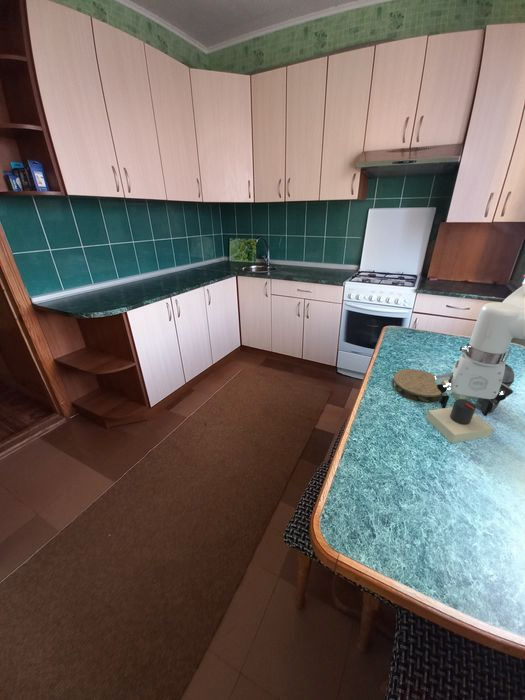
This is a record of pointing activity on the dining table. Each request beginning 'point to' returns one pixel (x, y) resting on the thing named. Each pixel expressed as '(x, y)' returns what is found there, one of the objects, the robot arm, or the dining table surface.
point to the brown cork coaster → (417, 385)
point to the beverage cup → (507, 380)
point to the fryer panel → (458, 426)
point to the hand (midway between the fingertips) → (462, 409)
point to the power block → (459, 394)
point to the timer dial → (462, 411)
